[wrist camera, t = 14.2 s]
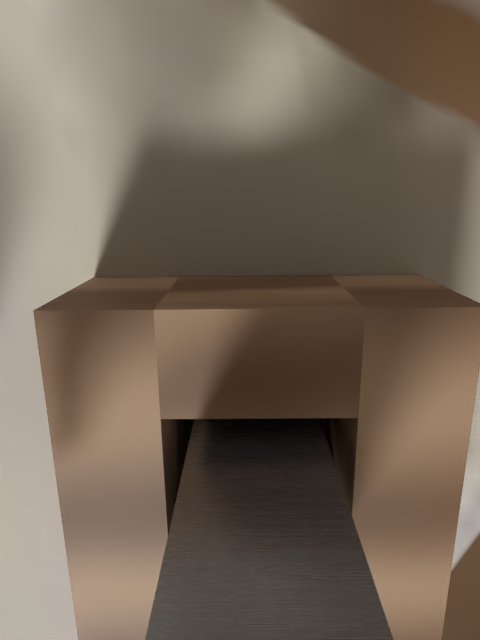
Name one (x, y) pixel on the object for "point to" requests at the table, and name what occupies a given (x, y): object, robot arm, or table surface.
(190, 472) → the square bit
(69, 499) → the socket block
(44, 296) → the table surface
